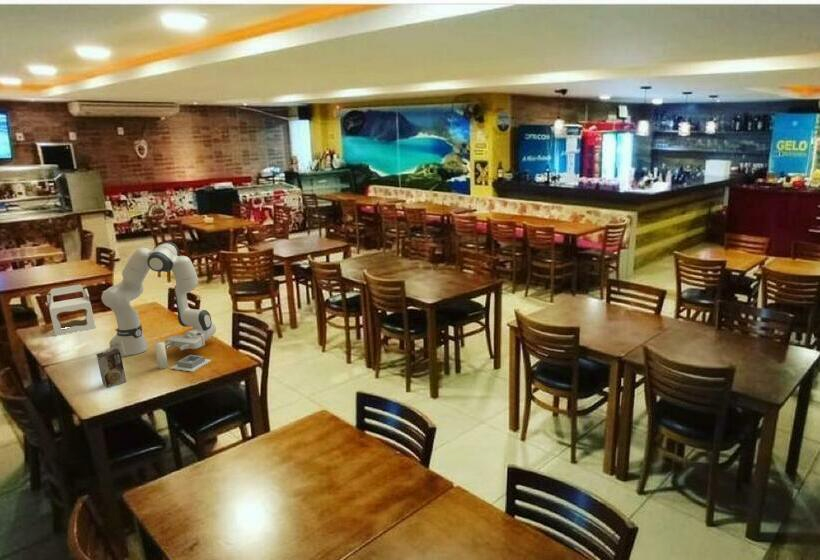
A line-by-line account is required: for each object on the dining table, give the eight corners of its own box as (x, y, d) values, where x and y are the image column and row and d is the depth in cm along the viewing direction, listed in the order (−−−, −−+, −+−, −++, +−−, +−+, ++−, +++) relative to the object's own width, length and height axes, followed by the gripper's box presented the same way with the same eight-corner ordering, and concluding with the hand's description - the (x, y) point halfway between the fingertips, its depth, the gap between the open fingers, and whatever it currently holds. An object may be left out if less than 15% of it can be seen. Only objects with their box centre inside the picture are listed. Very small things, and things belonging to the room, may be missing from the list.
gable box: (94, 322, 360) (85, 281, 352) (96, 328, 349) (87, 285, 342) (54, 330, 348) (44, 287, 341) (54, 336, 338) (44, 292, 330)
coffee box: (122, 378, 275) (116, 347, 270) (126, 382, 270) (120, 351, 266) (102, 384, 268) (95, 353, 264) (106, 388, 264) (100, 357, 260)
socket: (171, 369, 283) (169, 363, 282) (190, 358, 295) (189, 352, 294) (192, 372, 278) (191, 366, 277) (211, 361, 290) (211, 355, 289)
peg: (156, 368, 284) (152, 344, 281) (163, 364, 289) (159, 341, 285) (163, 369, 283) (159, 345, 279) (170, 365, 287) (166, 342, 283)
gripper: (176, 331, 306) (156, 340, 294) (205, 334, 299) (187, 344, 287) (177, 341, 308) (158, 351, 296) (207, 345, 301) (189, 355, 288)
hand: (173, 347), depth 291 cm, fingers open, 8 cm apart
